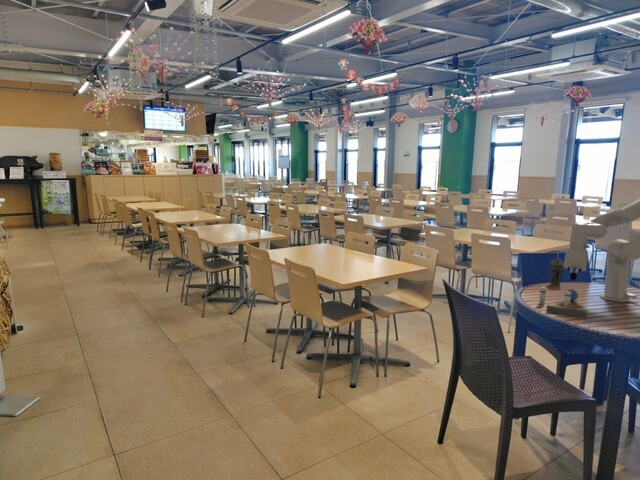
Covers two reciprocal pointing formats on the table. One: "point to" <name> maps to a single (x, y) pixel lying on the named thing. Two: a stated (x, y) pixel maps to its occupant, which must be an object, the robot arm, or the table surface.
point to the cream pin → (567, 299)
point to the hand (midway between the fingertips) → (573, 280)
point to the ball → (573, 295)
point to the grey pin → (542, 295)
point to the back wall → (566, 311)
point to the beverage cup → (556, 270)
